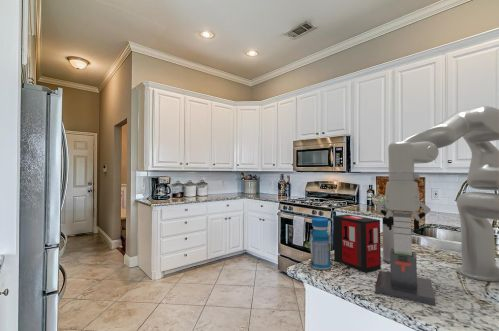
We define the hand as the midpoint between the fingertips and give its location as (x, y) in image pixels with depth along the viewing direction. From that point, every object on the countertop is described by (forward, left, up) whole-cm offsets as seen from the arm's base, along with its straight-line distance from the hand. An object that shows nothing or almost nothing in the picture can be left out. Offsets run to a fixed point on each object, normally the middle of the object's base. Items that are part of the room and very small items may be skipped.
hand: (402, 230), depth 87 cm
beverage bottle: (+30, -6, -20) cm, 36 cm away
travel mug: (+5, -28, -20) cm, 35 cm away
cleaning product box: (+18, -16, -20) cm, 31 cm away
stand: (0, 0, -20) cm, 20 cm away
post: (0, 0, -11) cm, 11 cm away
